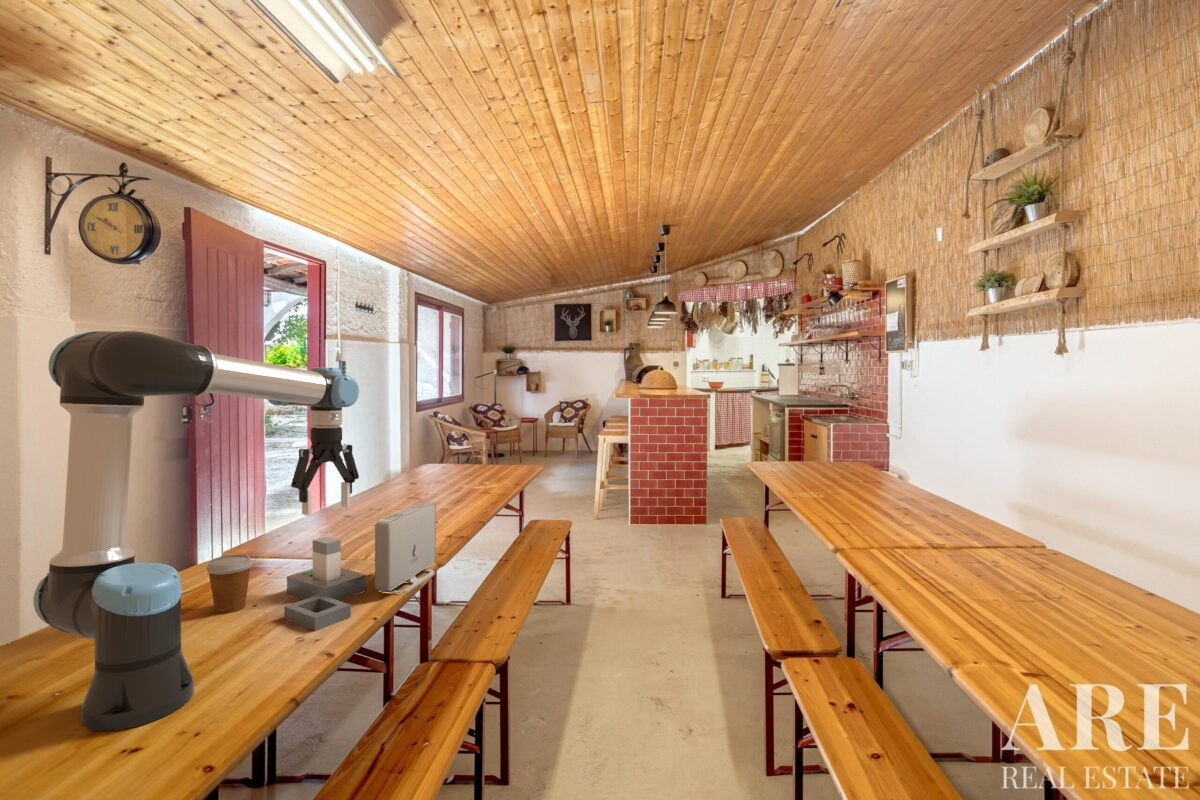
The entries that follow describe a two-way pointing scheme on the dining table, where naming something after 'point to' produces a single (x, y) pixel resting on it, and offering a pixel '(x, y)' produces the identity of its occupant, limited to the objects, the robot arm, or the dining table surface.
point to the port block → (326, 585)
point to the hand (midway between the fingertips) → (326, 510)
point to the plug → (326, 558)
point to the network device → (405, 547)
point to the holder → (329, 612)
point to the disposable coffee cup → (229, 582)
